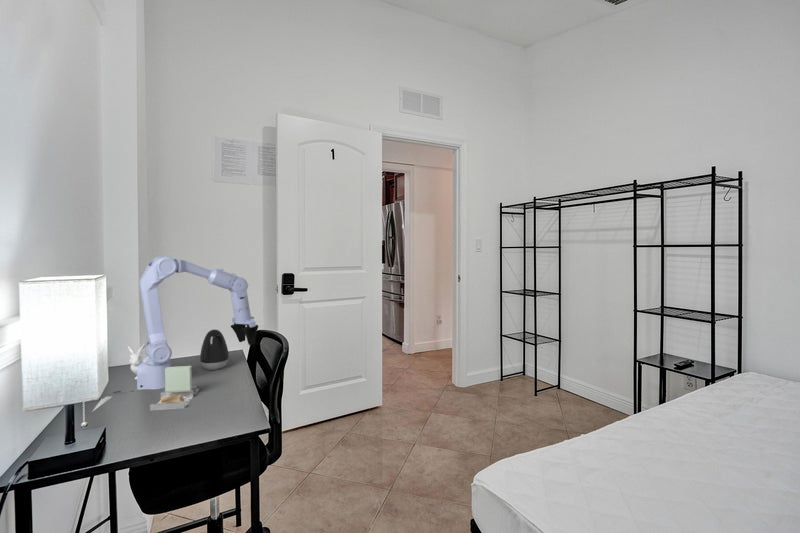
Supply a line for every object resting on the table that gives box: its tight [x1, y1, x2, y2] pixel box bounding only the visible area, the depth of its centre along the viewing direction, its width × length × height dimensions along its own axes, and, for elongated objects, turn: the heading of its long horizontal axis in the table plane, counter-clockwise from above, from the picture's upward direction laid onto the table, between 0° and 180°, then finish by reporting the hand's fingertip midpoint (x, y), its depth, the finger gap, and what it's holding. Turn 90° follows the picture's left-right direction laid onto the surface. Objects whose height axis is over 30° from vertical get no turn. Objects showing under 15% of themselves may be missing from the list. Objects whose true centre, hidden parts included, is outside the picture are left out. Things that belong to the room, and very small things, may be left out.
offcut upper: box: [160, 395, 182, 403], centre depth 121 cm, size 5×2×1 cm, turn 102°
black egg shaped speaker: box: [199, 328, 230, 371], centre depth 159 cm, size 10×10×15 cm
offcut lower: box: [157, 398, 184, 404], centre depth 121 cm, size 6×3×1 cm, turn 102°
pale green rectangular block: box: [164, 365, 193, 392], centre depth 128 cm, size 7×2×9 cm, turn 102°
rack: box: [149, 385, 200, 411], centre depth 126 cm, size 9×16×3 cm, turn 12°
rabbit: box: [127, 342, 149, 380], centre depth 149 cm, size 12×9×12 cm
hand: (247, 342), depth 156 cm, fingers open, 7 cm apart
